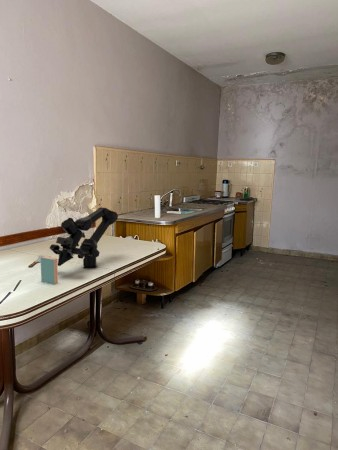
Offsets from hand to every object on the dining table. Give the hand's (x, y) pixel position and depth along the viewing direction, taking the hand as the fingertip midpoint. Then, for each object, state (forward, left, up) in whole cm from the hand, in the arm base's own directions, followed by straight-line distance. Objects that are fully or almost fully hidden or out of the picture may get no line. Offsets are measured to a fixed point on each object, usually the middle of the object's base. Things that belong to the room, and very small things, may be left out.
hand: (58, 265), depth 160 cm
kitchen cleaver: (+18, -31, -7) cm, 36 cm away
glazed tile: (+3, +5, -7) cm, 9 cm away
